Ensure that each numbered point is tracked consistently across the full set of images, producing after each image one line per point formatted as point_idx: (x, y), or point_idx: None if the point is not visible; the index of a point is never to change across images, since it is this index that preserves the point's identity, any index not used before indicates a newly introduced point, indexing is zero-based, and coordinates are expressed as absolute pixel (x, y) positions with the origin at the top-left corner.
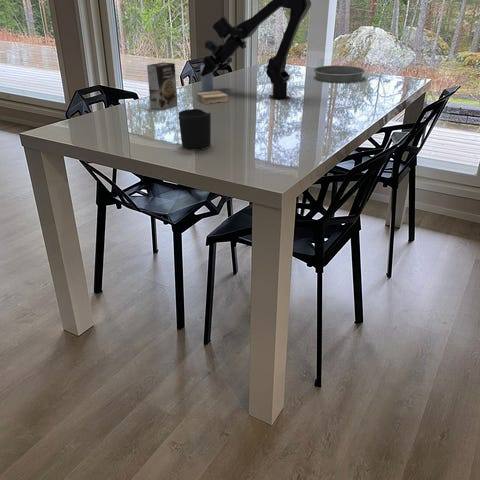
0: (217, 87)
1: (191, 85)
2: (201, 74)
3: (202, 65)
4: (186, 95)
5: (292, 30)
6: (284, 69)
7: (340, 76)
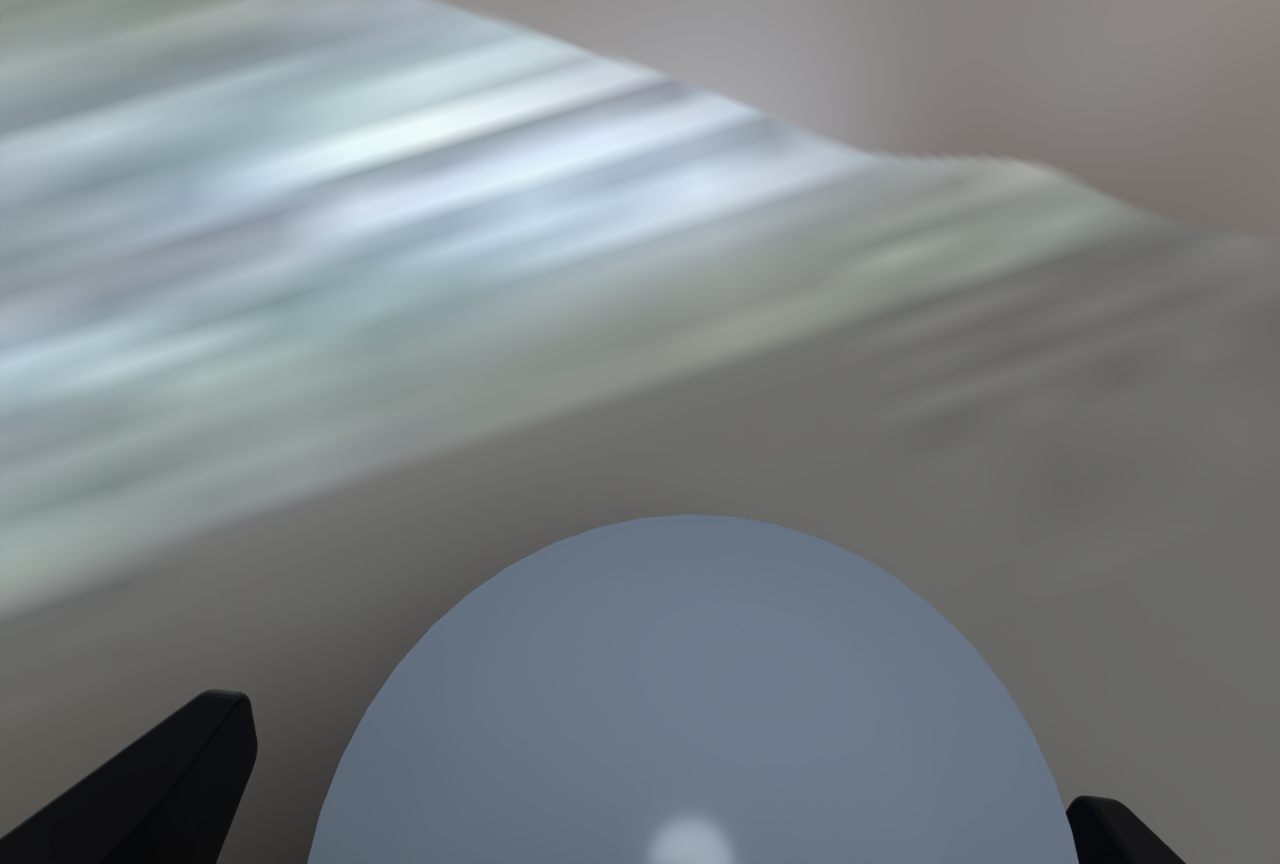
0: None
1: (1090, 229)
2: (170, 741)
3: (725, 613)
4: (230, 406)
5: None
6: None
7: None
